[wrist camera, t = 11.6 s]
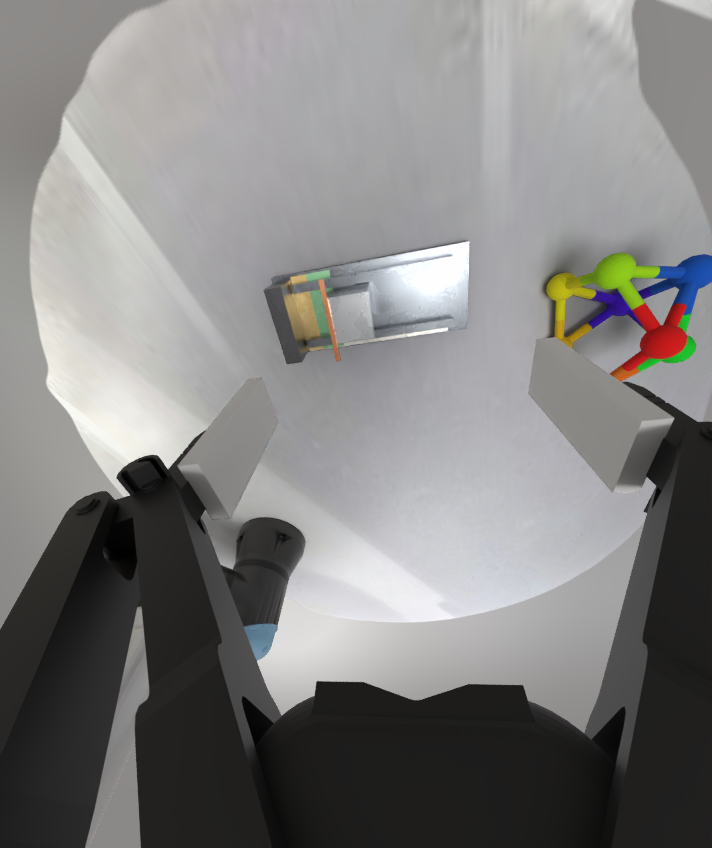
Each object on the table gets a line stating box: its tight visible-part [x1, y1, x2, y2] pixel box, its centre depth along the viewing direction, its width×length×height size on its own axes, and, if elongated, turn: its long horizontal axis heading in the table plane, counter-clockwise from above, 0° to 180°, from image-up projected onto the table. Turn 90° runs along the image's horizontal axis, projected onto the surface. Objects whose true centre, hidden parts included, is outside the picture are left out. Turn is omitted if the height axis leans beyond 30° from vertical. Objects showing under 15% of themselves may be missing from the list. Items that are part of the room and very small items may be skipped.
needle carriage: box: [318, 279, 375, 361], centre depth 37 cm, size 5×9×6 cm, turn 10°
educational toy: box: [546, 253, 712, 381], centre depth 33 cm, size 16×13×15 cm
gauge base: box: [264, 241, 469, 364], centre depth 38 cm, size 24×10×6 cm, turn 100°
